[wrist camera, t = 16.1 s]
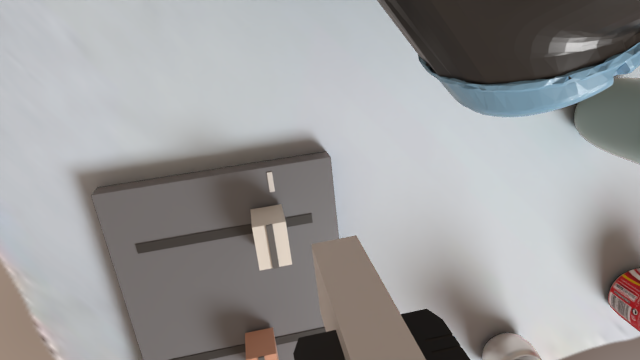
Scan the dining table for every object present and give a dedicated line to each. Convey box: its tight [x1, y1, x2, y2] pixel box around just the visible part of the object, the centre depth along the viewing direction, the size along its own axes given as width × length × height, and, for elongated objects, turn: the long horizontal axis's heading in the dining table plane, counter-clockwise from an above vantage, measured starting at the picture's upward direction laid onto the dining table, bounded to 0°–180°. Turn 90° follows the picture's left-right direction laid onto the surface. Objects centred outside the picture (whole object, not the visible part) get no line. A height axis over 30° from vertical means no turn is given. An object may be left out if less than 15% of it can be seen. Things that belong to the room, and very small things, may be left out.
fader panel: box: [91, 151, 339, 360], centre depth 46 cm, size 26×22×2 cm
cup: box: [574, 78, 640, 164], centre depth 44 cm, size 8×8×10 cm
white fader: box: [250, 204, 292, 270], centre depth 41 cm, size 4×3×4 cm
